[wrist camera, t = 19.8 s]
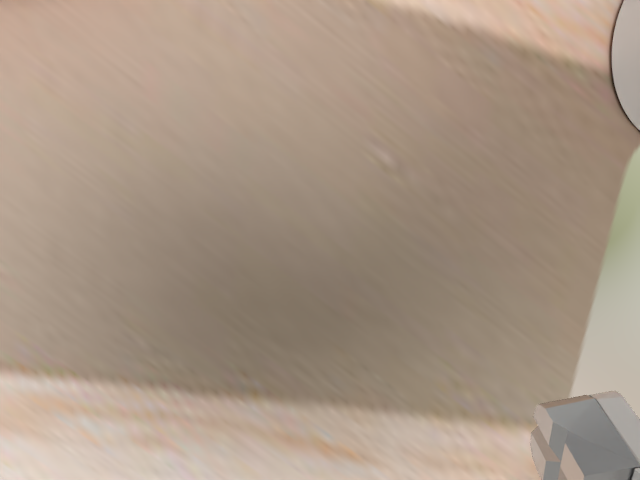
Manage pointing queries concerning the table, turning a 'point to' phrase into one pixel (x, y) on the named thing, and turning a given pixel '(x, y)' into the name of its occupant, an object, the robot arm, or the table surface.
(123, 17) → the table surface
